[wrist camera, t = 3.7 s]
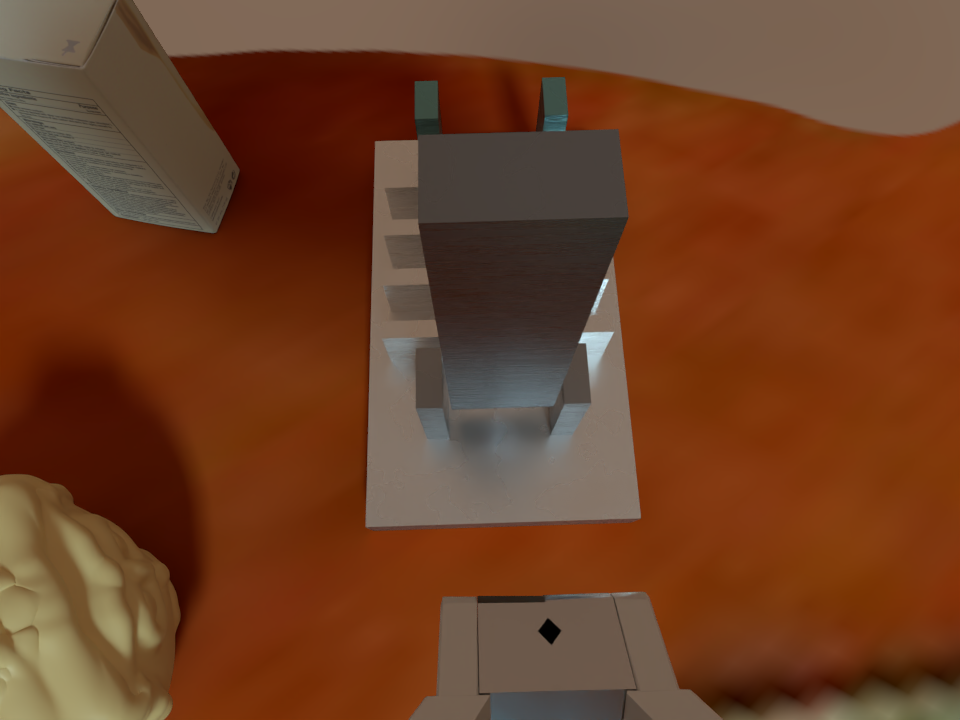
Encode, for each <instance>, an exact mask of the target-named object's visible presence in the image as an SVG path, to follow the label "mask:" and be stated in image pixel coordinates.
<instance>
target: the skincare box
mask: <svg viewBox="0 0 960 720" xmlns="http://www.w3.org/2000/svg"><path fill="white" fill-rule="evenodd" d="M0 107H1V108H2V109H3V110H4V111H5V112H6V113H7V114H8V115H9V116H10V117H12V118H13V119H14V120H15V121H16V122H17V123H18V124H19V125H20V126H21V127H22V128H23V129H24V130H25V131H26V132H27V133H28V134H29V135H30V136H31V137H33V138H34V139H35V140H36V141H37V142H38V143H39V144H40V145H41V146H42V147H43V148H44V149H45V150H46V151H47V152H48V153H49V154H50V155H51V156H52V157H54V158H55V159H56V160H57V161H58V162H59V163H60V164H61V165H62V166H63V167H64V168H65V169H66V170H67V171H68V172H69V173H70V174H71V175H72V176H73V177H75V178H76V179H77V180H78V181H79V182H80V183H81V184H82V185H83V186H84V187H85V188H86V189H87V190H88V191H89V192H90V193H91V194H92V195H93V196H94V197H95V198H96V199H97V200H99V201H100V202H101V203H102V204H103V205H104V206H105V207H106V208H107V209H108V210H109V211H110V212H111V213H112V214H113V215H114V216H117V217H121V218H126V219H130V220H136V221H141V222H146V223H152V224H157V225H163V226H169V227H175V228H182V229H188V230H195V231H202V232H209V233H216V232H217V230H218V228H219V225H220V223H221V220H222V218H223V215H224V213H225V210H226V208H227V205H228V203H229V200H230V198H231V195H232V193H233V190H234V187H235V184H236V181H237V178H238V175H239V171H240V170H239V168H238V166H237V165H236V163H235V161H234V160H233V158H232V157H231V155H230V153H229V152H228V150H227V149H226V147H225V145H224V144H223V142H222V141H221V139H220V137H219V136H218V134H217V133H216V131H215V130H214V128H213V127H212V125H211V123H210V122H209V120H208V119H207V117H206V116H205V114H204V112H203V111H202V109H201V108H200V106H199V104H198V103H197V101H196V100H195V98H194V96H193V95H192V93H191V92H190V90H189V88H188V87H187V85H186V84H185V82H184V81H183V79H182V78H181V76H180V74H179V73H178V71H177V70H176V68H175V66H174V65H173V63H172V62H171V60H170V59H169V57H168V55H167V54H166V52H165V51H164V49H163V47H162V46H161V44H160V43H159V42H158V40H157V38H156V37H155V35H154V33H153V32H152V30H151V29H150V27H149V25H148V24H147V22H146V21H145V19H144V18H143V16H142V14H141V13H140V11H139V10H138V8H137V7H136V5H135V3H134V2H133V0H0Z"/></svg>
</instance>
